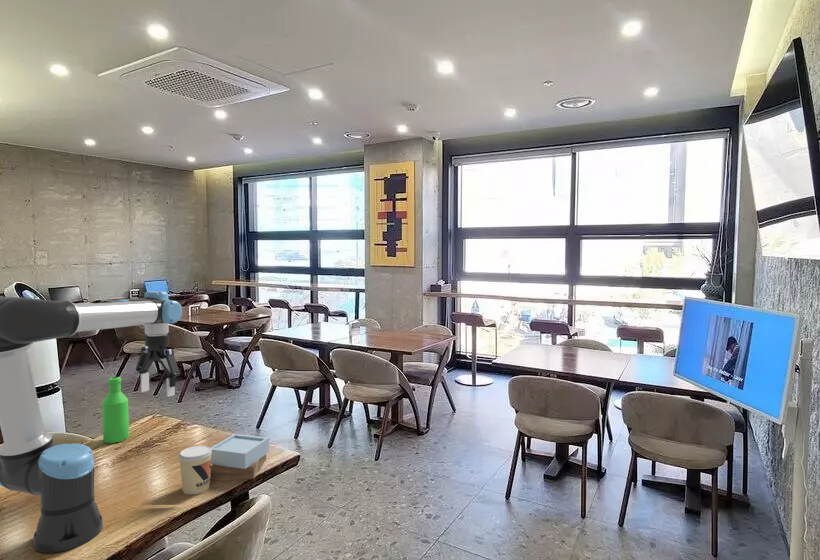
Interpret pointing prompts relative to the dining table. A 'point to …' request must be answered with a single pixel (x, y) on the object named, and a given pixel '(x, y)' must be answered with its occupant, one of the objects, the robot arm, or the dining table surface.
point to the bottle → (115, 413)
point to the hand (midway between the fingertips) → (157, 393)
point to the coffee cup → (195, 469)
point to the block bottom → (236, 471)
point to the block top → (239, 451)
